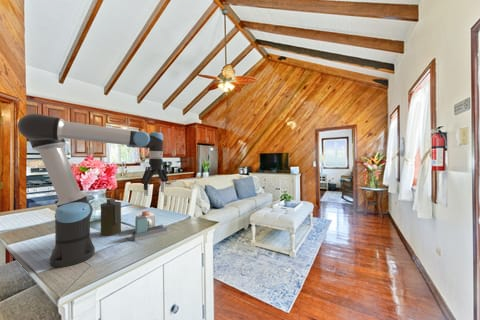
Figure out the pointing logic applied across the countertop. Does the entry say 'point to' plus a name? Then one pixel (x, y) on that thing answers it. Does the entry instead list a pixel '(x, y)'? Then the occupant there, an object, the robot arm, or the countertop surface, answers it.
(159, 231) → the rail
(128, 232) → the countertop surface
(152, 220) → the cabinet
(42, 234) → the countertop surface
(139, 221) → the block
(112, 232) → the canister
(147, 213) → the button
